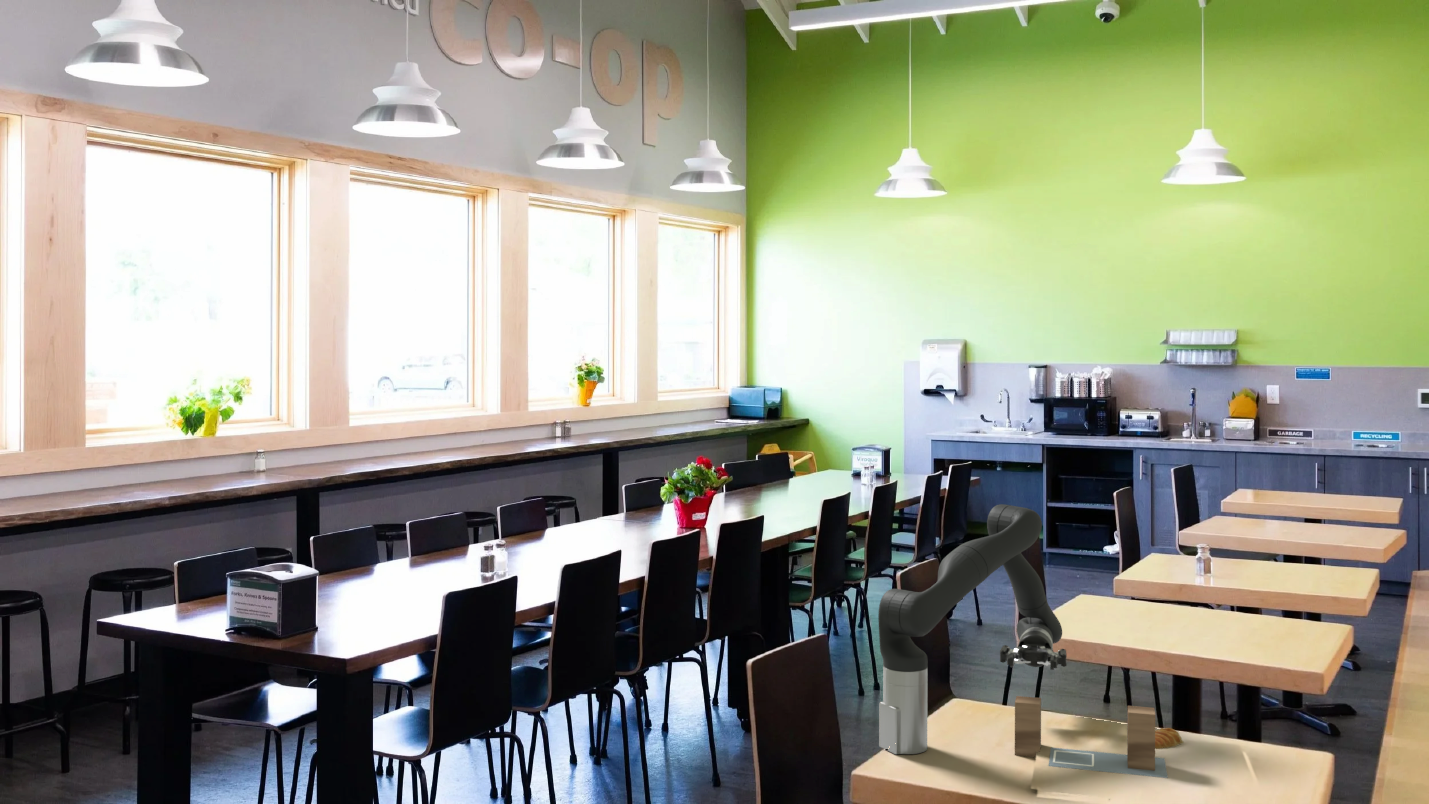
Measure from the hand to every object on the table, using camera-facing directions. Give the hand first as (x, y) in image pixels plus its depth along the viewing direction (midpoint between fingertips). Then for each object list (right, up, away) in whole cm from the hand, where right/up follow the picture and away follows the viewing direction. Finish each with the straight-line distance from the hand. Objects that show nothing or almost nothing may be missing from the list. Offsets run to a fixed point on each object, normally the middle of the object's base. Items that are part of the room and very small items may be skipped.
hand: (1031, 664), depth 250 cm
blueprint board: (+10, -16, -20) cm, 27 cm away
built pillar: (+16, -15, -22) cm, 31 cm away
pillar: (-4, -16, -10) cm, 19 cm away
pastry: (+26, -16, -7) cm, 31 cm away
